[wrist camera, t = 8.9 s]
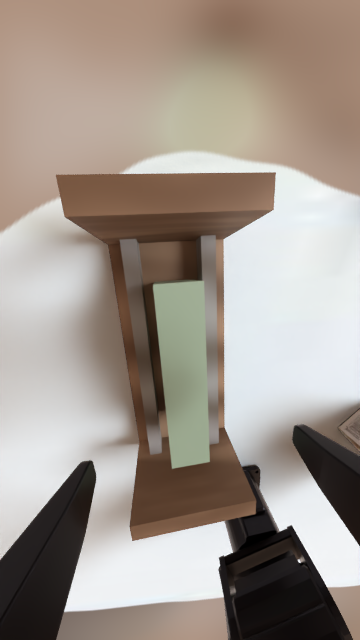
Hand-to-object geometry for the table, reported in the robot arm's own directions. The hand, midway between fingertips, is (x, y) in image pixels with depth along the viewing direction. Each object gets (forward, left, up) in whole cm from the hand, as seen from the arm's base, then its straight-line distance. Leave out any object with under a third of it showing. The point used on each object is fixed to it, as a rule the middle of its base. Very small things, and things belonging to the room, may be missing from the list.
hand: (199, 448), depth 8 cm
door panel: (0, 0, -10) cm, 10 cm away
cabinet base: (0, 0, -11) cm, 11 cm away
